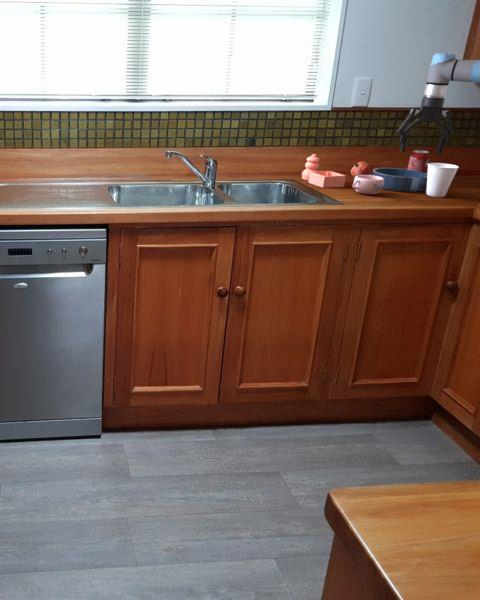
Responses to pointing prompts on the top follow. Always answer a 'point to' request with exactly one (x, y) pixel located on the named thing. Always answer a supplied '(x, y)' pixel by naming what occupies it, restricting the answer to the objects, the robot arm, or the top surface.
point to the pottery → (321, 175)
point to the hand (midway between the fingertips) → (419, 152)
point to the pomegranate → (360, 169)
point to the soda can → (418, 161)
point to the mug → (368, 184)
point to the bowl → (402, 179)
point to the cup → (439, 178)
